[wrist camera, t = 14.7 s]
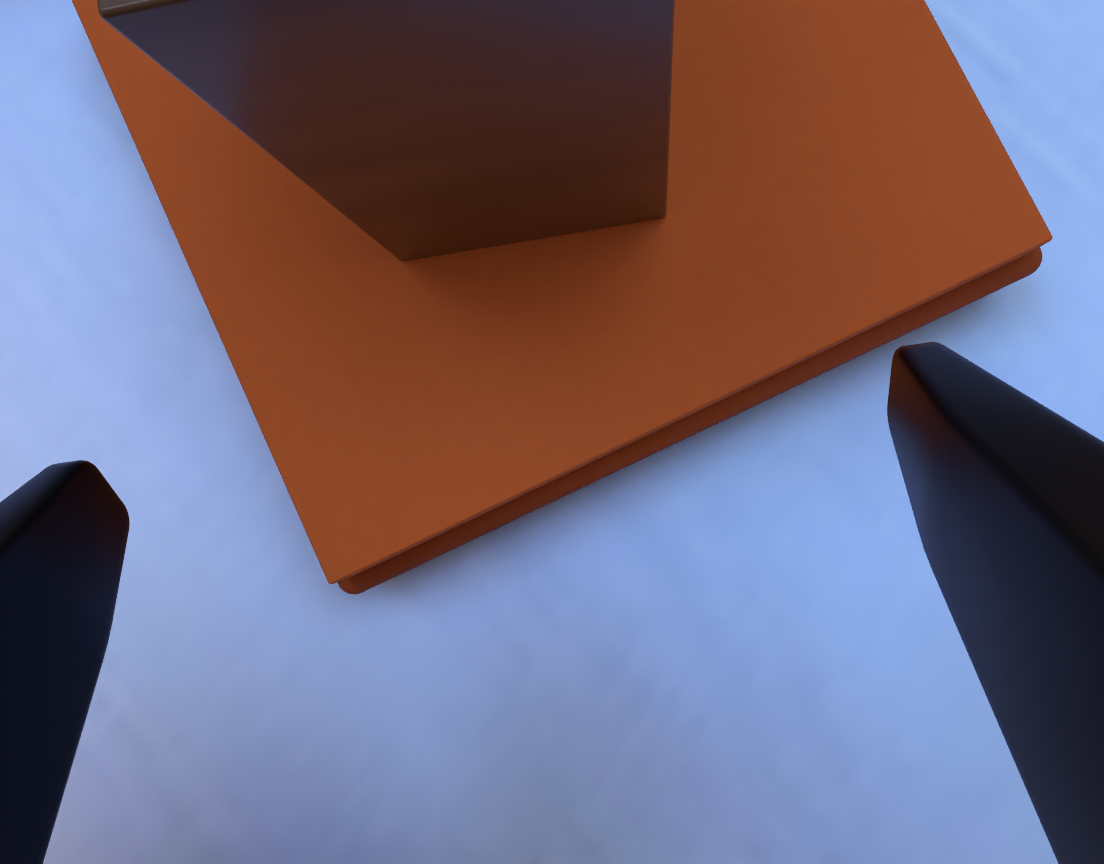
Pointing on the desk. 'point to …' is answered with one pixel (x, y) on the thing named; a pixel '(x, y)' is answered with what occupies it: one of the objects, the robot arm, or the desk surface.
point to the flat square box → (591, 276)
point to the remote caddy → (438, 106)
